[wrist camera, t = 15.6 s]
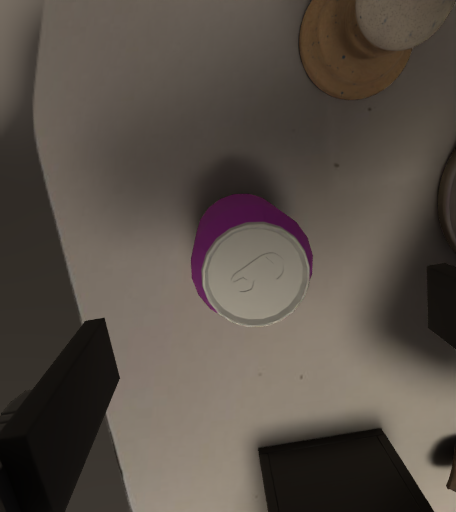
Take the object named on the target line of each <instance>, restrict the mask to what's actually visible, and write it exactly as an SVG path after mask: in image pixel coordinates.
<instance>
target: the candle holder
mask: <svg viewBox="0 0 456 512" xmlns="http://www.w3.org/2000/svg"><path fill="white" fill-rule="evenodd" d="M455 2H456V0H312V2H311V3H310V5H309V6H308V8H307V11H306V13H305V15H304V18H303V21H302V24H301V28H300V35H299V49H300V56H301V60H302V63H303V66H304V68H305V70H306V73H307V74H308V76H309V77H310V79H311V80H312V82H313V83H314V84H315V85H316V86H317V87H318V88H319V89H321V90H322V91H323V92H325V93H327V94H328V95H330V96H332V97H336V98H339V99H345V100H358V99H363V98H367V97H370V96H372V95H375V94H377V93H379V92H380V91H382V90H384V89H385V88H386V87H388V86H389V85H390V84H391V83H392V82H393V81H394V80H395V79H396V78H397V77H398V76H399V75H400V73H401V72H402V70H403V69H404V67H405V65H406V63H407V62H408V60H409V57H410V54H411V51H412V48H413V47H416V46H418V45H420V44H421V43H423V42H425V41H426V40H427V39H429V38H430V37H431V36H432V35H433V34H434V33H435V32H436V31H437V30H438V29H439V28H440V27H441V26H442V24H443V23H444V21H445V20H446V19H447V17H448V16H449V14H450V12H451V10H452V8H453V6H454V4H455Z"/></svg>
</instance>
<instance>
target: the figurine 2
mask: <svg viewBox="0 0 456 512" xmlns="http://www.w3.org/2000/svg"><path fill="white" fill-rule="evenodd" d="M446 486H447V489H451V490H453V491H455V492H456V446H455V451H454V457H453V463H452V470H451V474H450V477H449V480H448V482H447V485H446Z"/></svg>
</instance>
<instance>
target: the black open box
mask: <svg viewBox="0 0 456 512" xmlns="http://www.w3.org/2000/svg"><path fill="white" fill-rule="evenodd" d="M258 451H259V458H260V464H261V470H262V476H263V483H264V489H265V495H266V502H267V508H268V512H434V511H433V509H432V507H431V506H430V504H429V503H428V501H427V499H426V498H425V496H424V495H423V493H422V492H421V490H420V488H419V487H418V485H417V484H416V482H415V481H414V479H413V477H412V476H411V474H410V473H409V471H408V470H407V468H406V466H405V465H404V463H403V462H402V460H401V458H400V457H399V455H398V454H397V452H396V451H395V449H394V447H393V446H392V444H391V443H390V441H389V440H388V438H387V436H386V435H385V433H384V432H383V430H382V429H375V430H368V431H362V432H356V433H350V434H343V435H337V436H331V437H325V438H319V439H312V440H306V441H300V442H294V443H287V444H281V445H275V446H269V447H263V448H258Z"/></svg>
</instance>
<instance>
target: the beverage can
mask: <svg viewBox="0 0 456 512" xmlns="http://www.w3.org/2000/svg"><path fill="white" fill-rule="evenodd" d="M312 261H313V255H312V251H311V248H310V245H309V241H308V238H307V236H306V235H305V234H304V232H303V231H302V229H301V228H300V227H299V225H298V224H297V222H295V221H294V220H293V219H291V218H290V217H289V216H287V215H286V214H284V213H283V212H282V211H280V210H279V209H278V208H276V207H275V206H273V205H272V204H271V203H269V202H268V201H266V200H265V199H264V198H261V197H258V196H255V195H251V194H233V195H230V196H227V197H224V198H222V199H219V200H218V201H217V202H216V203H214V204H213V205H212V206H210V207H209V208H208V209H207V211H206V212H205V214H204V215H203V217H202V218H201V220H200V222H199V226H198V230H197V233H196V238H195V242H194V247H193V252H192V257H191V269H192V279H193V282H194V284H195V287H196V289H197V292H198V294H199V296H200V297H201V298H202V299H203V301H204V302H205V303H206V304H207V305H208V307H209V308H210V309H212V310H213V311H215V312H216V313H218V314H219V315H221V316H222V317H224V318H226V319H227V320H229V321H231V322H232V323H235V324H239V325H243V326H246V327H262V326H267V325H270V324H273V323H276V322H279V321H281V320H283V319H284V318H285V317H287V316H288V315H290V314H291V313H292V312H294V311H295V309H296V308H297V307H298V305H299V304H300V303H301V302H302V300H303V299H304V296H305V294H306V291H307V288H308V285H309V281H310V278H311V275H312Z"/></svg>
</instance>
